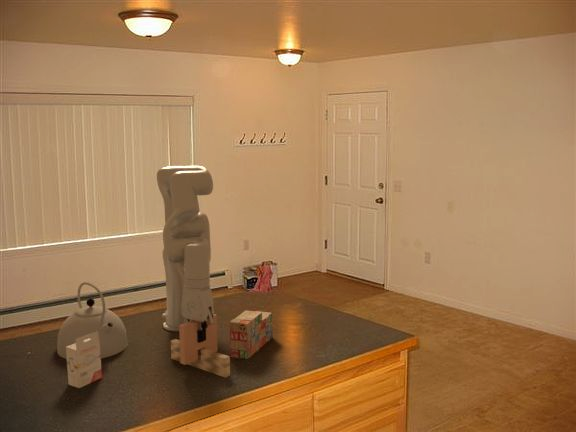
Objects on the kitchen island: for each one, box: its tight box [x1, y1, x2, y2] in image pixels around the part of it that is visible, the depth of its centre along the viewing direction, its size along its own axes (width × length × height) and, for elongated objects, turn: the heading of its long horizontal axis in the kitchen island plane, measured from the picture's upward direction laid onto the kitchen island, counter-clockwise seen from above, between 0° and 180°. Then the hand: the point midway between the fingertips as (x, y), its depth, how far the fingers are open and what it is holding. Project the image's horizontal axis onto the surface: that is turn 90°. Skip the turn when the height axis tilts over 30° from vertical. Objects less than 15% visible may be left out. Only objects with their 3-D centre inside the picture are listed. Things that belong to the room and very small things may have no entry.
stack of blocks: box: [229, 310, 273, 360], centre depth 201 cm, size 21×6×12 cm, turn 159°
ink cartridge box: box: [66, 331, 103, 389], centre depth 174 cm, size 9×5×15 cm, turn 148°
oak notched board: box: [170, 338, 231, 379], centre depth 185 cm, size 24×2×6 cm, turn 52°
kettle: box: [56, 281, 128, 360], centre depth 199 cm, size 25×23×23 cm
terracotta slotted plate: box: [178, 313, 218, 366], centre depth 184 cm, size 2×14×12 cm, turn 143°
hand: (199, 340), depth 184 cm, fingers closed on terracotta slotted plate, 1 cm apart
